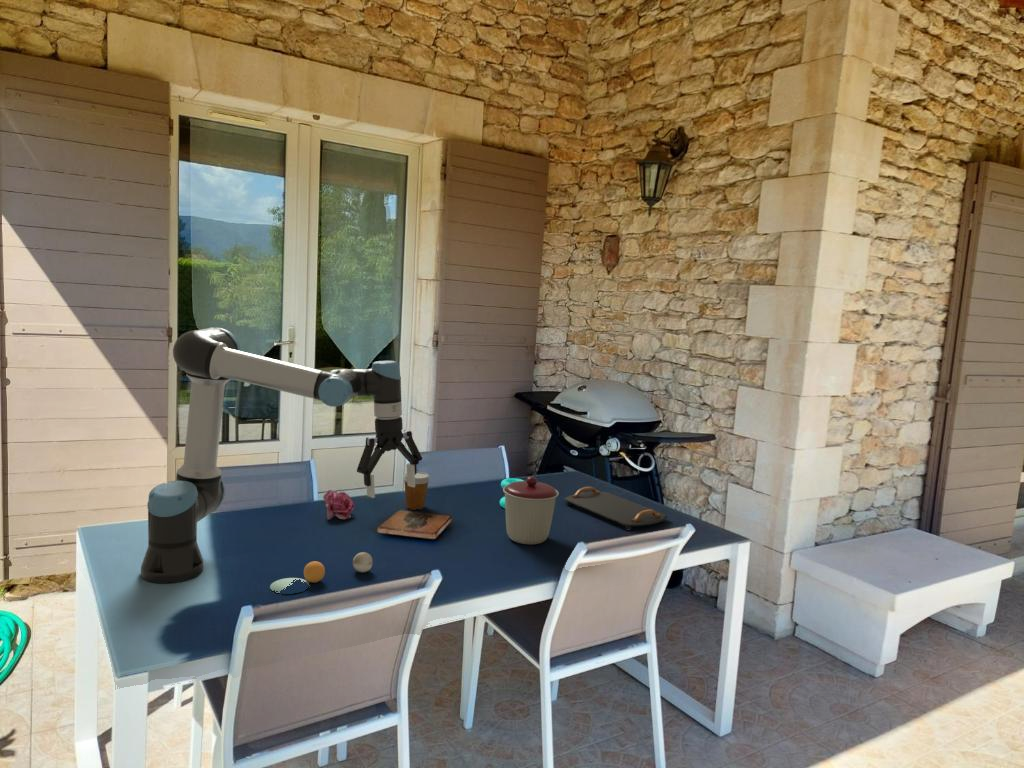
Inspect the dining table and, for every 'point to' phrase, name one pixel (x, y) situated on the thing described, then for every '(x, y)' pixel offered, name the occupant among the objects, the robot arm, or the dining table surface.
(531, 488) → the canister
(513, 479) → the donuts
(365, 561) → the ivory ball
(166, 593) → the dining table surface
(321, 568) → the orange ball
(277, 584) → the pale green flat disc
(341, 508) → the flower
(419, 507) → the disposable coffee cup
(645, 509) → the serving board
